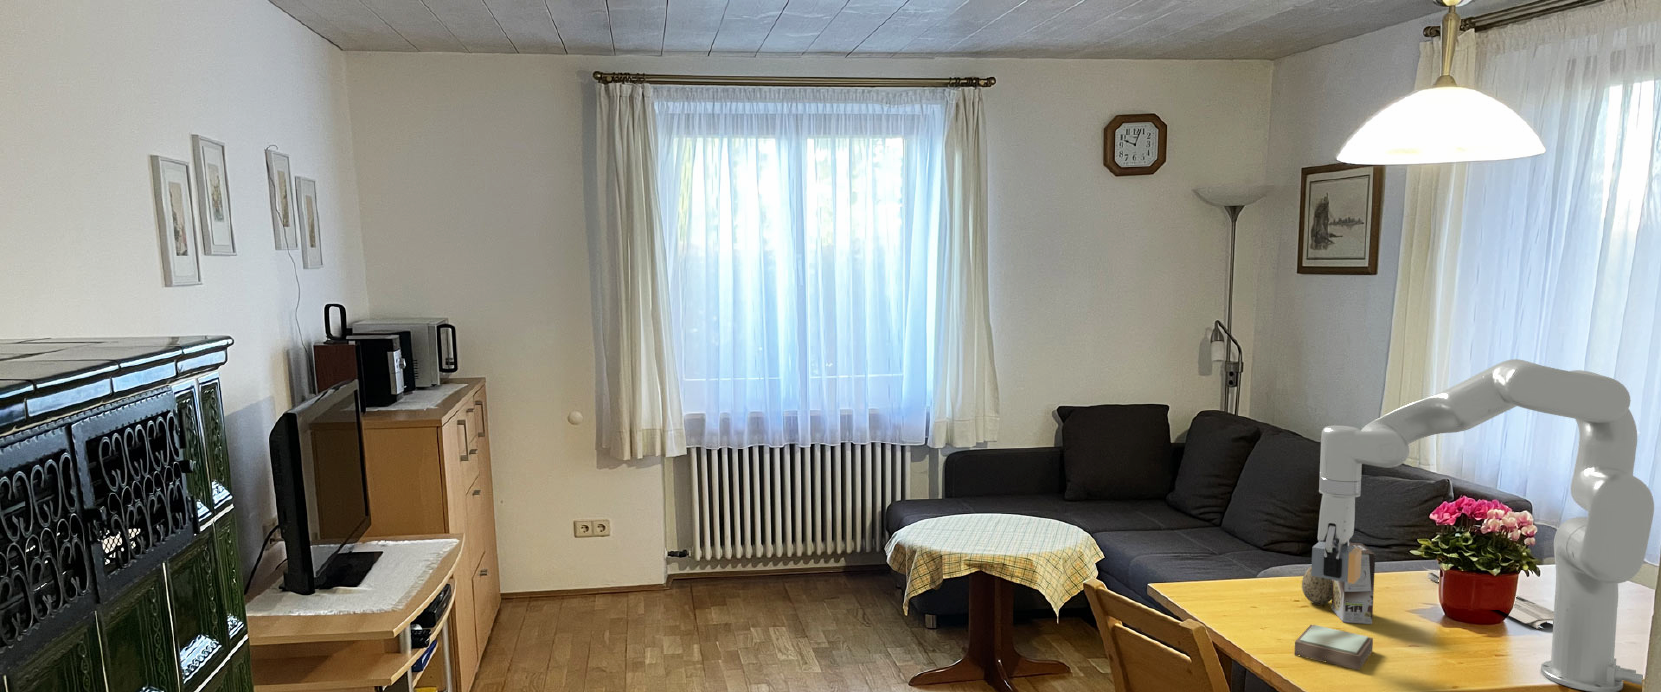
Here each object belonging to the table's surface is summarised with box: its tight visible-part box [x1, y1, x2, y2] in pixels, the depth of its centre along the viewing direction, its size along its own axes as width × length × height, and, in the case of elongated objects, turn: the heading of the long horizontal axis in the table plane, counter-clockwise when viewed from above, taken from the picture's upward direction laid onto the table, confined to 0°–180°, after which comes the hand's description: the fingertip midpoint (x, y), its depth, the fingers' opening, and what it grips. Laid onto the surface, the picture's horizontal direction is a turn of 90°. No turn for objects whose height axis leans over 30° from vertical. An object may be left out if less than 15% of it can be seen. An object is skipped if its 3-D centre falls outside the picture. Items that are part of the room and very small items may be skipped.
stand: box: [1294, 624, 1374, 671], centre depth 201 cm, size 12×12×3 cm
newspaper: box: [1422, 566, 1554, 630], centre depth 230 cm, size 35×12×4 cm, turn 6°
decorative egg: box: [1301, 565, 1332, 605], centre depth 229 cm, size 7×7×10 cm
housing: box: [1311, 540, 1362, 584], centre depth 200 cm, size 6×8×6 cm
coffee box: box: [1330, 542, 1376, 625], centre depth 221 cm, size 9×6×16 cm
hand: (1336, 571), depth 200 cm, fingers closed on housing, 5 cm apart
